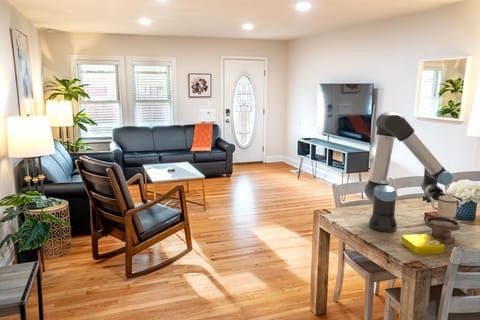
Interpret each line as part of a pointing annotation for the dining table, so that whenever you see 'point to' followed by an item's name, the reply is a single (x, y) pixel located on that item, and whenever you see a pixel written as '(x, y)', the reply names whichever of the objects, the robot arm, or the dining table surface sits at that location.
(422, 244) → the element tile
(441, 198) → the teacup with lid
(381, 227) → the robot arm
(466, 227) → the dining table surface
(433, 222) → the walnut pedestal
